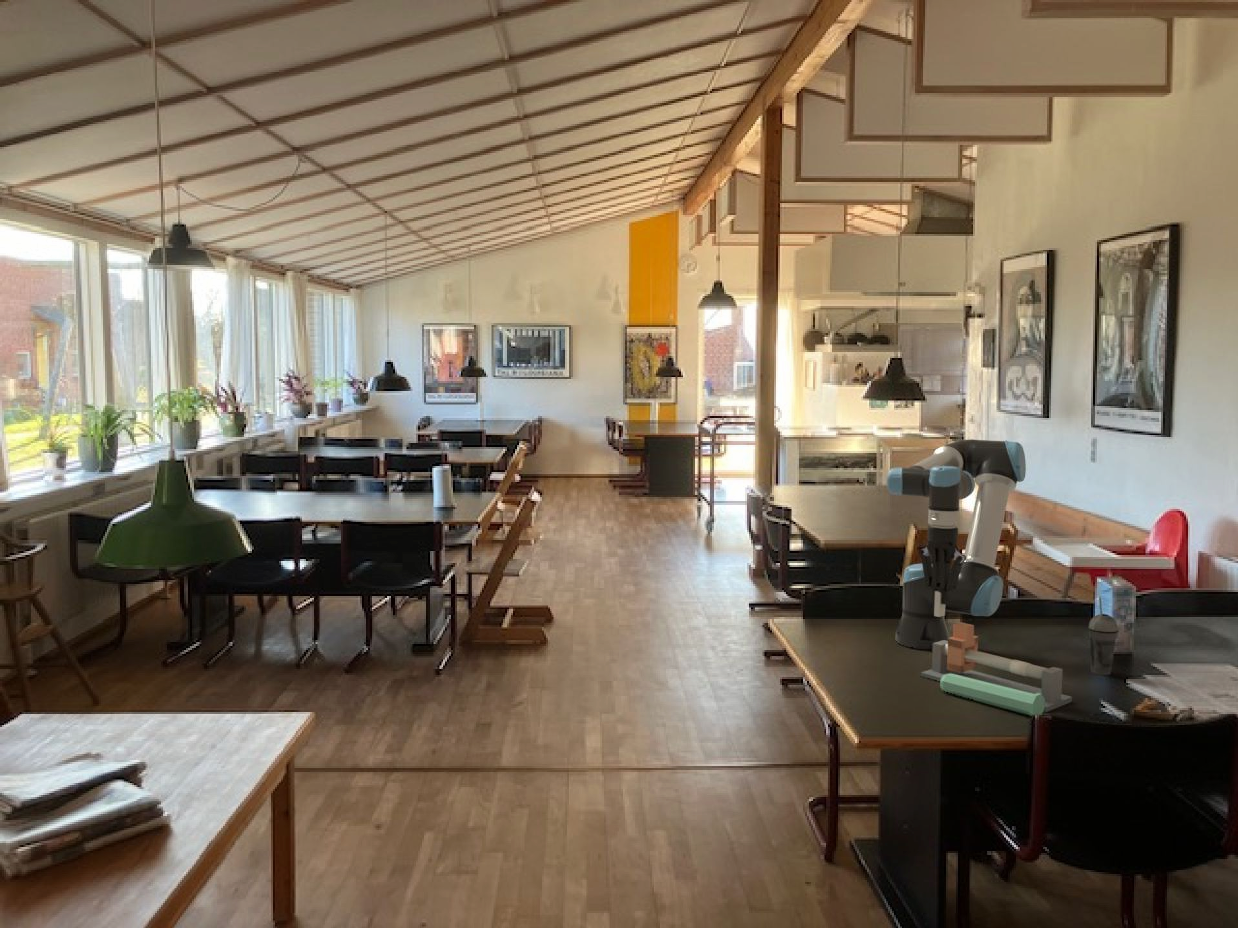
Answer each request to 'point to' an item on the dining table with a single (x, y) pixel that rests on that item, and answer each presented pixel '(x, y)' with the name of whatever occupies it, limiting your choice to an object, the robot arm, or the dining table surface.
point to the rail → (1000, 682)
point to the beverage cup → (1102, 642)
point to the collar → (961, 648)
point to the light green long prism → (993, 694)
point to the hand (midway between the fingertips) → (939, 615)
